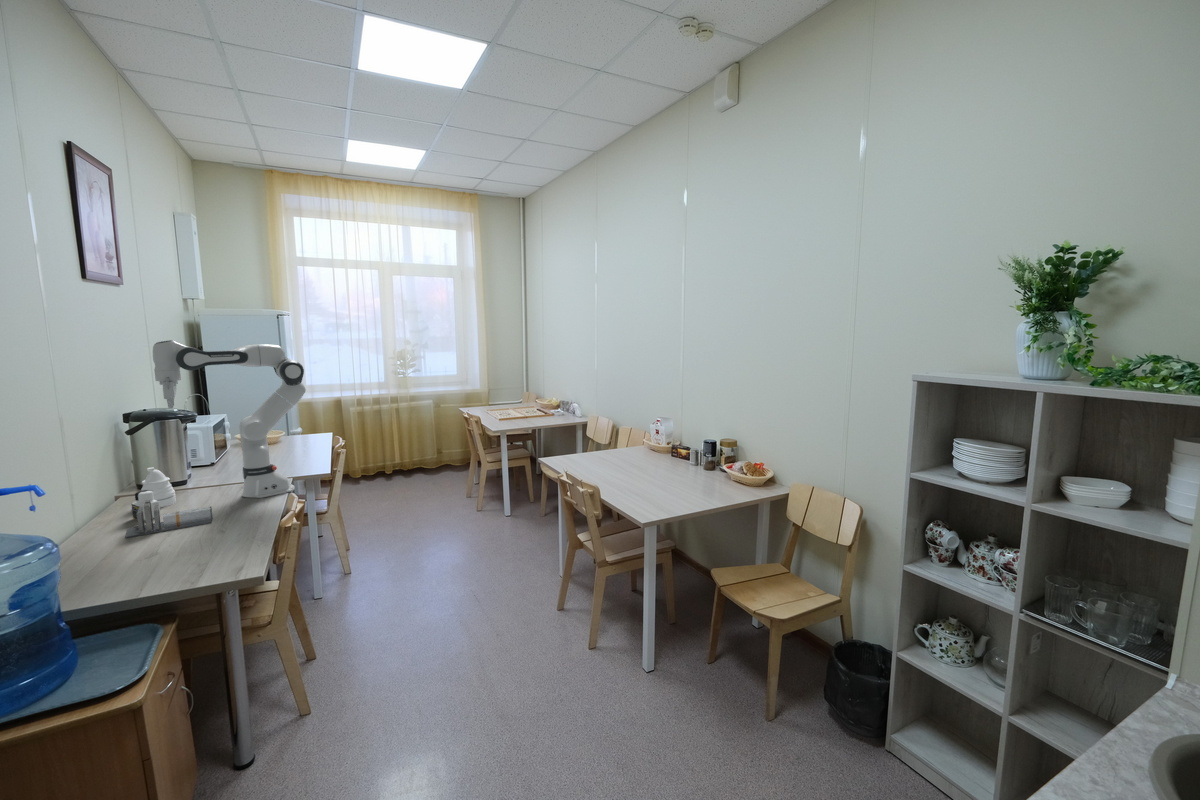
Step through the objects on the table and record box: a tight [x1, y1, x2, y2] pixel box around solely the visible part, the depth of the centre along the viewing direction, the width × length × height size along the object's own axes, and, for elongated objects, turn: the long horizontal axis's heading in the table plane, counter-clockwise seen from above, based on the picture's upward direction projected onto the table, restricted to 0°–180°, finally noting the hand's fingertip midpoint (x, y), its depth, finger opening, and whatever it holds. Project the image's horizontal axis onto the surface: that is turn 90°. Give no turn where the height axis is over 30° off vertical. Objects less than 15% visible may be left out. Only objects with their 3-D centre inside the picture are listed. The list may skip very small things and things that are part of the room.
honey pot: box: [140, 466, 177, 508], centre depth 239 cm, size 13×13×18 cm
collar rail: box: [125, 500, 213, 539], centre depth 213 cm, size 27×12×11 cm, turn 128°
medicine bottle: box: [131, 490, 161, 522], centre depth 222 cm, size 7×7×12 cm
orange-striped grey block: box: [162, 505, 214, 527], centre depth 217 cm, size 16×4×4 cm, turn 128°
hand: (171, 407), depth 232 cm, fingers open, 8 cm apart
